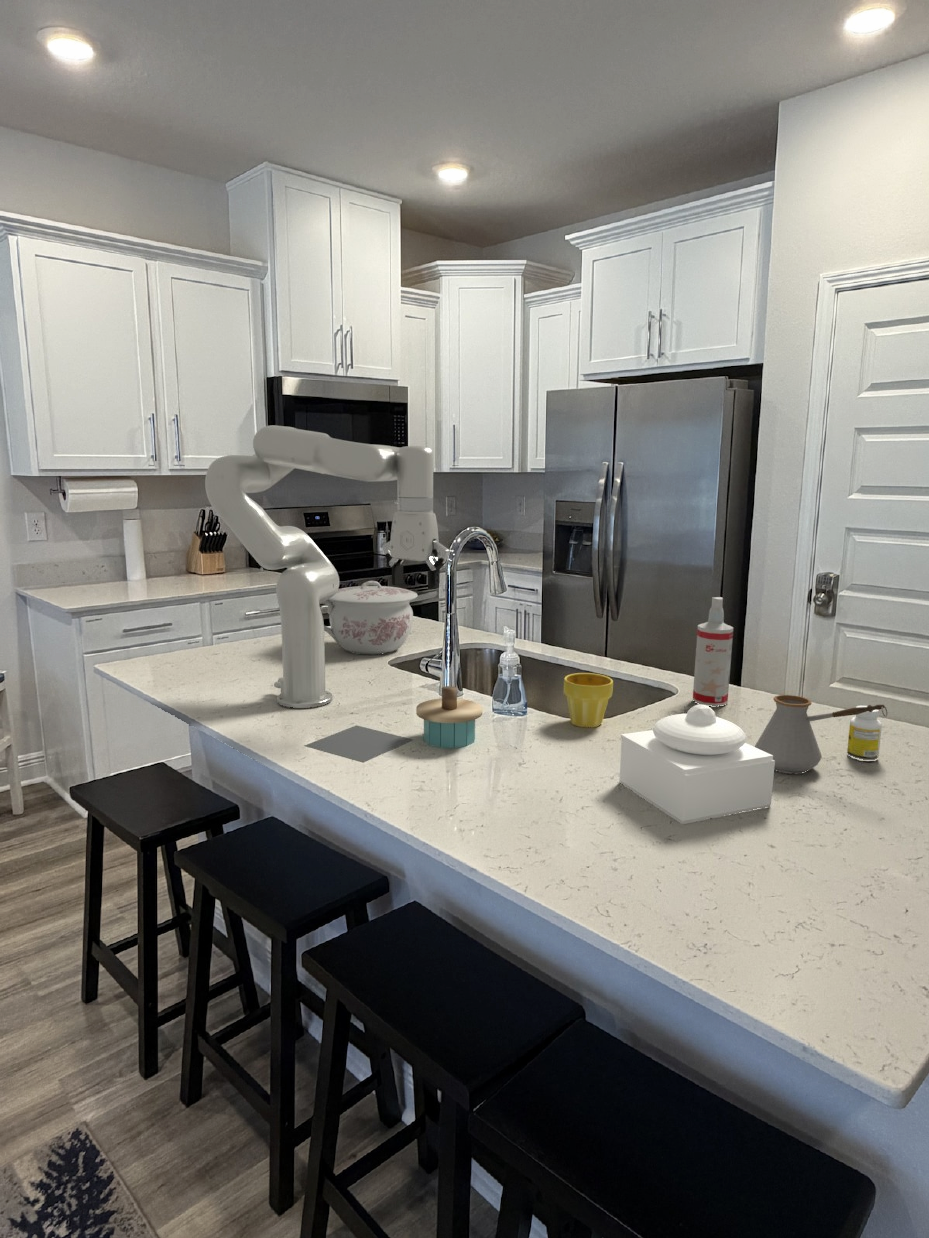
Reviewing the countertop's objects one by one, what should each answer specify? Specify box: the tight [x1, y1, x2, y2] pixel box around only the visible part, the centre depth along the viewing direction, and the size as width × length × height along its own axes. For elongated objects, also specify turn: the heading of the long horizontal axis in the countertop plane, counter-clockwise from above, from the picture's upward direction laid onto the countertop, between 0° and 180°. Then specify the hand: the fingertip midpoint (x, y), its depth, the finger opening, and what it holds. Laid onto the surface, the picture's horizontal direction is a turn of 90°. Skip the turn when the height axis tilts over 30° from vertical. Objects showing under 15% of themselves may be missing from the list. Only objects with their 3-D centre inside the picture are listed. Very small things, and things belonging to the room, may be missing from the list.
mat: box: [303, 724, 414, 763], centre depth 155 cm, size 15×15×1 cm
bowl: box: [423, 719, 476, 749], centre depth 157 cm, size 10×10×6 cm
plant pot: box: [563, 672, 614, 728], centre depth 169 cm, size 10×10×10 cm
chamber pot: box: [319, 580, 419, 655], centre depth 234 cm, size 28×28×21 cm
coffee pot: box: [754, 694, 888, 774], centre depth 142 cm, size 21×12×15 cm, turn 49°
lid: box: [415, 685, 483, 723], centre depth 156 cm, size 13×13×5 cm
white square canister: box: [618, 704, 775, 825], centre depth 132 cm, size 18×18×16 cm
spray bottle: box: [692, 596, 734, 706], centre depth 184 cm, size 8×8×25 cm
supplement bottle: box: [846, 705, 883, 760], centre depth 151 cm, size 5×5×10 cm
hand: (415, 586), depth 170 cm, fingers open, 9 cm apart
